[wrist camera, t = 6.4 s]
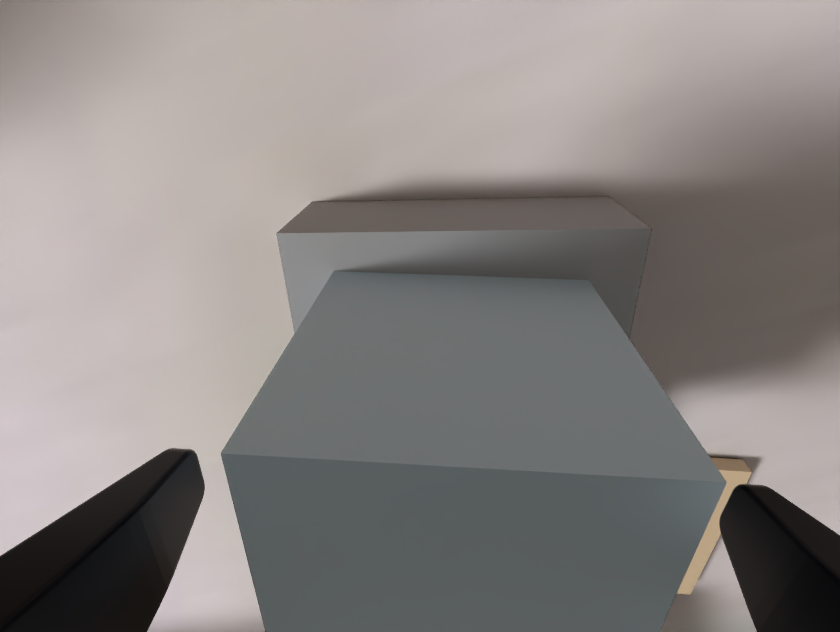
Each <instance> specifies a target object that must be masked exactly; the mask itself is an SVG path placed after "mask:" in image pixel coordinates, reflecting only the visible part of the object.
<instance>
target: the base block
mask: <svg viewBox="0 0 840 632" xmlns="http://www.w3.org/2000/svg"><path fill="white" fill-rule="evenodd" d="M651 230H652V228H651V227H649V226H648V225H647V224H645V223H644V222H643V221H641V220H640V219H639V218H637V217H636V216H635V215H633V214H632V213H630V212H629V211H628V210H626V209H625V208H624V207H622V206H621V205H620V204H618V203H617V202H616V201H614V200H613V199H612V198H610V197H609V196H599V197H547V198H496V199H444V200H392V201H340V202H311V203H310V204H309V205H308V206H307V207H306V208H305V209H303V210H302V211H301V212H300V213H299V214H298V215H297V216H296V217H294V218H293V219H292V220H291V221H290V222H289V223H288V224H286V225H285V226H284V227H283V228H282V229H281V230H280V231H279V232H277V233H276V234H277V239H278V245H279V250H280V256H281V261H282V267H283V272H284V278H285V283H286V289H287V294H288V299H289V305H290V310H291V316H292V321H293V327H294V332H295V333H296V331H297V329H298V328H299V326H300V324H301V323H302V321H303V320H304V318H305V316H306V315H307V313H308V312H309V310H310V308H311V307H312V305H313V303H314V302H315V300H316V299H317V297H318V295H319V294H320V292H321V291H322V289H323V287H324V286H325V284H326V282H327V281H328V279H329V278H330V276H331V274H332V273H333V271H347V272H375V273H403V274H430V275H458V276H485V277H513V278H541V279H568V280H589V281H590V283H591V284H592V286H593V287H594V289H595V290H596V291H597V293H598V294H599V296H600V297H601V299H602V300H603V302H604V303H605V305H606V306H607V308H608V309H609V310H610V312H611V313H612V315H613V316H614V318H615V319H616V321H617V322H618V324H619V325H620V327H621V328H622V330H623V331H624V332H625V334H626V335H627V337H628V338H629V336H630V331H631V326H632V322H633V317H634V312H635V307H636V302H637V297H638V293H639V288H640V283H641V278H642V273H643V268H644V264H645V259H646V254H647V249H648V244H649V239H650V235H651Z"/></svg>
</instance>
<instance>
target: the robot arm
mask: <svg viewBox="0 0 840 632" xmlns="http://www.w3.org/2000/svg"><path fill="white" fill-rule="evenodd" d="M204 489H205V485H204V480H203V476H202V472H201V468H200V464H199V461H198V457H197V454H196V453H195V452H194V451H193V450H191V449H177V448H171V449H167V450H165V451H164V452H162V453H160V454H159V455H157V456H156V457H154V458H153V459H151V460H149V461H148V462H146V463H145V464H143V465H142V466H140V467H139V468H137V469H135V470H134V471H132V472H131V473H129V474H128V475H126V476H124V477H123V478H121V479H120V480H118V481H117V482H115V483H114V484H112V485H110V486H109V487H107V488H106V489H104V490H103V491H101V492H99V493H98V494H96V495H95V496H93V497H92V498H90V499H89V500H87V501H85V502H84V503H82V504H81V505H79V506H78V507H76V508H74V509H73V510H71V511H70V512H68V513H67V514H65V515H64V516H62V517H60V518H59V519H57V520H56V521H54V522H53V523H51V524H49V525H48V526H46V527H45V528H43V529H42V530H40V531H39V532H37V533H35V534H34V535H32V536H31V537H29V538H28V539H26V540H24V541H23V542H21V543H20V544H18V545H17V546H15V547H14V548H12V549H10V550H9V551H7V552H6V553H4V554H3V555H1V556H0V632H147V630H148V628H149V626H150V624H151V622H152V620H153V618H154V616H155V614H156V612H157V610H158V608H159V606H160V604H161V602H162V600H163V598H164V596H165V593H166V591H167V589H168V587H169V584H170V582H171V580H172V577H173V575H174V572H175V570H176V567H177V564H178V562H179V559H180V556H181V554H182V551H183V549H184V546H185V543H186V541H187V538H188V536H189V533H190V530H191V528H192V525H193V522H194V520H195V517H196V515H197V512H198V509H199V507H200V504H201V501H202V499H203V495H204ZM719 527H720V532H721V535H722V538H723V541H724V544H725V546H726V549H727V552H728V555H729V557H730V560H731V563H732V566H733V568H734V571H735V574H736V577H737V579H738V582H739V585H740V588H741V590H742V593H743V596H744V599H745V601H746V604H747V607H748V610H749V612H750V615H751V618H752V620H753V623H754V625H755V628H756V630H757V632H840V535H838V534H837V533H835V532H834V531H833V530H831V529H830V528H828V527H827V526H825V525H824V524H822V523H821V522H819V521H818V520H816V519H815V518H813V517H812V516H810V515H809V514H808V513H806V512H805V511H803V510H802V509H800V508H799V507H797V506H796V505H794V504H793V503H791V502H790V501H788V500H787V499H786V498H784V497H783V496H781V495H780V494H778V493H777V492H775V491H774V490H772V489H771V488H769V487H767V486H763V485H751V484H739V485H737V486H736V487H735V488H734V489H733V491H732V493H731V495H730V497H729V499H728V501H727V503H726V505H725V507H724V509H723V511H722V513H721V516H720V520H719Z"/></svg>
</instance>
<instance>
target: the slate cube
mask: <svg viewBox="0 0 840 632" xmlns="http://www.w3.org/2000/svg"><path fill="white" fill-rule="evenodd" d="M221 456H222V460H223V464H224V468H225V472H226V476H227V480H228V484H229V488H230V492H231V496H232V500H233V504H234V508H235V512H236V516H237V520H238V524H239V528H240V532H241V536H242V540H243V544H244V548H245V552H246V556H247V560H248V564H249V568H250V572H251V576H252V580H253V584H254V588H255V592H256V596H257V600H258V604H259V608H260V612H261V616H262V620H263V624H264V628H265V632H659V631H660V629H661V627H662V625H663V622H664V620H665V618H666V616H667V614H668V611H669V609H670V607H671V605H672V603H673V600H674V598H675V596H676V594H677V592H678V589H679V587H680V585H681V583H682V581H683V578H684V576H685V574H686V572H687V569H688V567H689V565H690V563H691V561H692V558H693V556H694V554H695V552H696V550H697V547H698V545H699V543H700V541H701V539H702V536H703V534H704V532H705V530H706V528H707V525H708V523H709V521H710V519H711V517H712V514H713V512H714V510H715V508H716V505H717V503H718V501H719V499H720V497H721V494H722V492H723V490H724V488H725V486H726V483H727V482H726V480H725V479H724V477H723V476H722V474H721V473H720V471H719V470H718V468H717V467H716V466H715V464H714V463H713V461H712V460H711V458H710V457H709V455H708V454H707V452H706V451H705V449H704V448H703V447H702V445H701V444H700V442H699V441H698V439H697V438H696V436H695V435H694V433H693V432H692V430H691V429H690V428H689V426H688V425H687V423H686V422H685V420H684V419H683V417H682V416H681V414H680V413H679V411H678V410H677V409H676V407H675V406H674V404H673V403H672V401H671V400H670V398H669V397H668V395H667V394H666V392H665V391H664V389H663V388H662V387H661V385H660V384H659V382H658V381H657V379H656V378H655V376H654V375H653V373H652V372H651V370H650V369H649V368H648V366H647V365H646V363H645V362H644V360H643V359H642V357H641V356H640V354H639V353H638V351H637V350H636V349H635V347H634V346H633V344H632V343H631V341H630V340H629V338H628V337H627V335H626V334H625V332H624V331H623V330H622V328H621V327H620V325H619V324H618V322H617V321H616V319H615V318H614V316H613V315H612V313H611V312H610V310H609V309H608V308H607V306H606V305H605V303H604V302H603V300H602V299H601V297H600V296H599V294H598V293H597V291H596V290H595V289H594V287H593V286H592V284H591V283H590V281H589V280H568V279H541V278H513V277H485V276H458V275H430V274H403V273H375V272H347V271H333V273H332V274H331V276H330V278H329V279H328V281H327V282H326V284H325V286H324V287H323V289H322V291H321V292H320V294H319V295H318V297H317V299H316V300H315V302H314V303H313V305H312V307H311V308H310V310H309V312H308V313H307V315H306V316H305V318H304V320H303V321H302V323H301V324H300V326H299V328H298V329H297V331H296V333H295V334H294V336H293V337H292V339H291V341H290V342H289V344H288V345H287V347H286V349H285V350H284V352H283V354H282V355H281V357H280V358H279V360H278V362H277V363H276V365H275V366H274V368H273V370H272V371H271V373H270V375H269V376H268V378H267V379H266V381H265V383H264V384H263V386H262V387H261V389H260V391H259V392H258V394H257V396H256V397H255V399H254V400H253V402H252V404H251V405H250V407H249V408H248V410H247V412H246V413H245V415H244V417H243V418H242V420H241V421H240V423H239V425H238V426H237V428H236V429H235V431H234V433H233V434H232V436H231V438H230V439H229V441H228V442H227V444H226V446H225V447H224V449H223V450H222V452H221Z"/></svg>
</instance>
